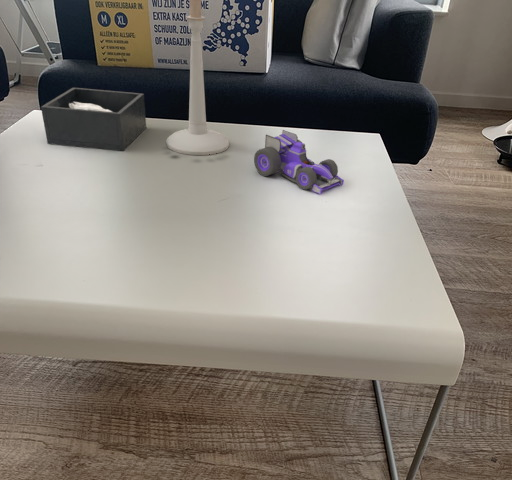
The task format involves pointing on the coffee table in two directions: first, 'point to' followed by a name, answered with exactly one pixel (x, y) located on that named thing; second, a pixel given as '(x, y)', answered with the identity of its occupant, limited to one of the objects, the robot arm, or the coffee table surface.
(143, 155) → the coffee table surface
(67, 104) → the dark grey open box
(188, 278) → the coffee table surface
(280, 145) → the toy race car
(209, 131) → the candlestick
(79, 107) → the white lumpy piece
